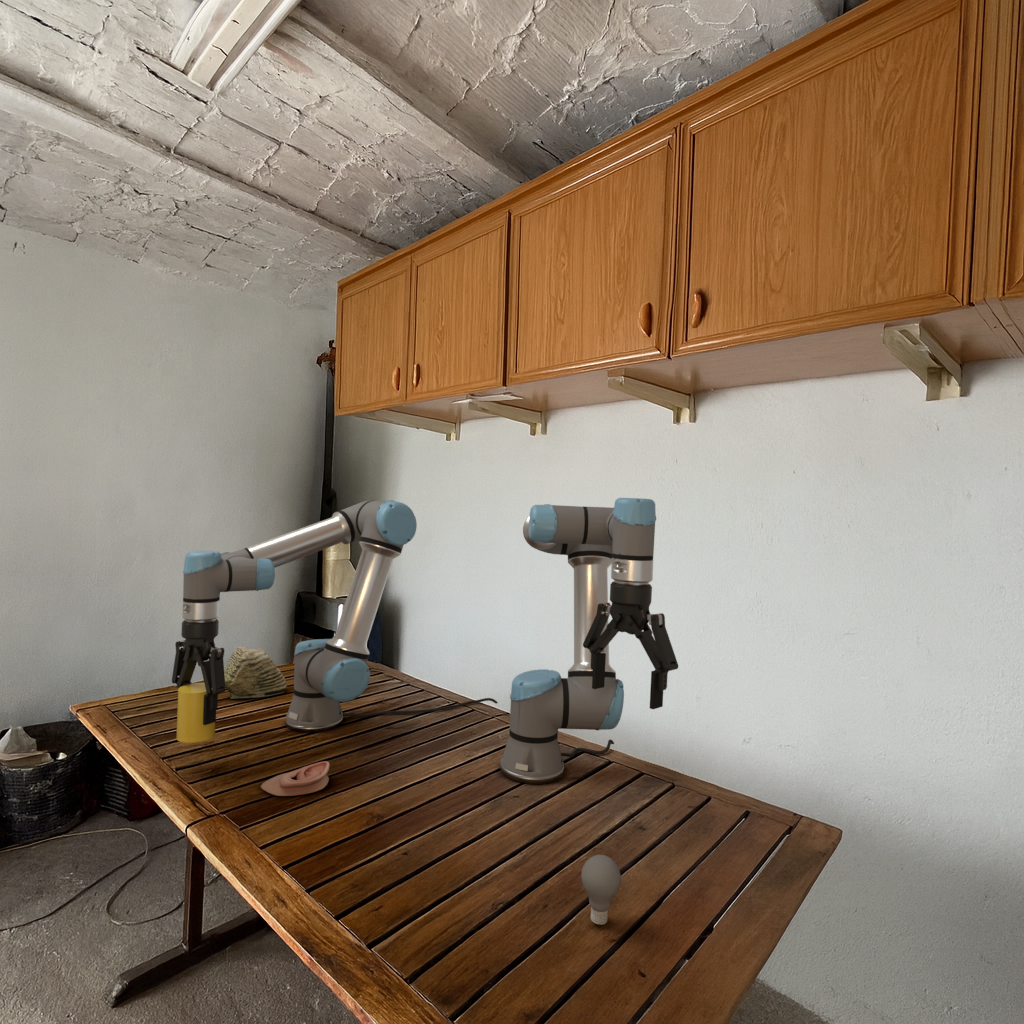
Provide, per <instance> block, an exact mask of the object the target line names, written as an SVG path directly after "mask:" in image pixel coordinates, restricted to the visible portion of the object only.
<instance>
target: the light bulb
mask: <svg viewBox="0 0 1024 1024" xmlns="http://www.w3.org/2000/svg"><path fill="white" fill-rule="evenodd" d="M621 875H622V874H621V871H620V868H619V867H618V865H617V863H616V862H615V861H614V860H613V859H612V858H611V857H609V856H608V855H605V854H595V855H592V856H590V857H589V858H588V859H587V860H586V861H585V862H584V864H583V866H582V869H581V875H580V877H581V883H582V886H583V888H584V890H585V892H586V894H587V896H588V902H589V905H590V920H591V922H593V923H594V924H596V925H601V926H602V925H606V924H607V922H608V918H609V917H608V914H609V908H610V906H611V903H612V900H613V898H614V897H615V895H616V894H617V892H618V891H619V889H620V885H621V880H622V876H621Z"/></svg>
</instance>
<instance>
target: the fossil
mask: <svg viewBox="0 0 1024 1024" xmlns="http://www.w3.org/2000/svg"><path fill="white" fill-rule="evenodd" d="M224 676H225V690H226V691H228V693H229V698H230V699H250V698H264V697H271V696H275V695H281V694H284V693H285V691H286V689H287V687H288V686H287V680H286V678H285V676H284V674H283V673H282V672H281V669H279V668H278V667H277V665H276V663H275V662H274V660H273V659H272V658H271V657H270V656H269V655H268V654H267V653H266V652H265V650H264V649H263V648H260V647H258V648H251V647H247V646H246V647H245V646H238V647H237V648H236V649H235V650H233V651H232V653H231V656H230V657H229V659H228V660H227V663H226V666H225V667H224Z"/></svg>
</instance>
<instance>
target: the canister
mask: <svg viewBox="0 0 1024 1024" xmlns="http://www.w3.org/2000/svg"><path fill="white" fill-rule="evenodd" d="M211 690H212V689H211ZM205 694H207V692H206V688H205V683H204V682H194V683H193V682H192V684H191V683H190V684H188V685H184V686H182V687H180V688H179V689H177V713H176V714H177V715H176V736H175V737H176V741H177V742H180V743H184V744H193V743H194V744H195V743H201V742H206V741H209V740H211V739H212V738H214V737H215V735H216V722H214V723H210V724H207V725H203V709H204V695H205Z"/></svg>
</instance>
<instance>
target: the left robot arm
mask: <svg viewBox="0 0 1024 1024" xmlns="http://www.w3.org/2000/svg"><path fill="white" fill-rule="evenodd" d="M417 523H418V522H417V518H416V516H415V513H414V511H413V510H412V508H411V507H410V506H408V504H405V503H403V502H400V501H396V500H392V499H391V500H381V499H379V500H378V499H369V500H364V501H361V502H359V503H356V504H354V505H351V506H348V507H346V508H343V509H341V510H337V511H335V512H334V513H333V514H332V515H331V517H329V518H326V519H323V520H320V521H317V522H315V523H312V524H308V525H306V526H303V527H301V528H297V529H295V530H293V531H289V532H286V533H284V534H280V535H278V536H274V537H272V538H270V539H266V540H264V541H263V540H262V541H260V542H258V543H256V544H252V545H250V546H249V545H248V546H246V547H244V548H241V549H238V550H235V551H232V552H229V551H228V552H227V551H226V552H225V551H224V552H220V551H218V550H217V551H216V550H191V551H189V552H187V553H186V554H185V556H184V563H183V571H182V574H183V580H182V581H183V583H182V584H183V586H182V587H183V588H182V589H183V590H182V593H183V594H182V614H181V615H182V619H183V620H182V622H181V632H180V633H181V638H183V640H177V641H175V655H174V663H173V670H172V677H171V683H172V684H176V687H177V688H178V689H179V688H180V687H182V686H184V685H188V684H193V682H192V678H193V675H194V672H195V670H196V666H197V665H198V667H200V670H201V674H202V678H203V679H202V680H203V683H205V688H206V692H207V694H205V695H204V709H203V725H207V724H210V723H214V722H215V723H217V709H218V707H219V706H218V703H219V694H222V693H226V688H225V676H224V672H225V663H224V657H225V648H224V647H217V646H216V644H215V638H216V637H218V635H219V624H220V621H219V619H218V618H219V617H220V605H221V604H220V603H221V601H220V600H221V593H229V592H250V591H251V592H253V591H256V592H259V591H264V590H269V589H271V588H272V587H273V586H274V584H275V580H276V568H278V567H281V566H283V565H286V564H289V563H291V562H294V561H297V560H299V559H302V558H304V557H307V556H310V555H312V554H315V553H318V552H320V551H323V550H325V549H328V548H330V547H333V546H336V545H339V544H343V545H349V544H351V543H354V542H358V544H359V546H360V547H361V553H360V557H359V560H358V563H357V565H356V569H355V571H354V574H353V578H352V580H351V584H350V587H349V591H348V592H347V593H348V594H347V597H346V600H345V602H344V606H343V609H342V612H341V615H340V618H339V621H338V625H337V627H336V631H335V634H334V636H333V637H332V638H323V639H322V638H319V639H308V640H303V641H299V642H297V644H296V645H295V650H294V655H293V656H294V672H293V695H292V696H293V697H292V699H291V702H290V704H289V708H288V711H287V713H286V715H285V726H286V728H287V729H289V730H291V731H294V732H295V731H296V732H301V733H316V732H325V731H329V730H332V729H335V728H337V727H339V726H340V725H342V723H343V722H344V717H356V718H364V717H375V716H381V715H390V714H391V715H393V714H394V715H395V714H422V713H423V714H424V713H432V712H439V711H445V710H448V709H453V708H458V707H459V708H460V707H464V706H466V705H471V704H477V703H482V702H488V701H490V702H493V703H494V704H499V702H498V701H497V700H496V699H494V698H492V697H484V698H480V699H476V700H475V699H474V700H469V701H464V702H461V703H460V702H459V703H456V704H452V705H446V706H442V707H435V708H426V709H413V710H411V709H410V710H384V711H376V712H369V713H352V712H351V713H349V712H348V713H347V712H343V709H342V706H341V703H348V702H352V701H354V700H355V699H357V698H359V697H360V696H361V695H362V694H363V693H364V692H365V691H366V690H367V688H368V686H369V684H370V681H371V680H370V679H371V671H370V669H369V666H368V665H367V663H368V660H369V657H370V650H369V648H368V647H367V644H368V640H369V637H370V634H371V631H372V628H373V625H374V621H375V618H376V616H377V612H378V609H379V607H380V606H379V605H380V603H381V599H382V596H383V594H384V590H385V586H386V584H387V580H388V577H389V574H390V571H391V569H392V564H393V562H394V560H395V559H396V558H398V557H400V556H401V555H402V551H403V548H404V546H405V545H407V544H408V543H409V542H411V541H412V540H413V539H414V537H415V535H416V533H417V528H418V527H417ZM178 689H177V690H178ZM211 689H212V690H211Z"/></svg>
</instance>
